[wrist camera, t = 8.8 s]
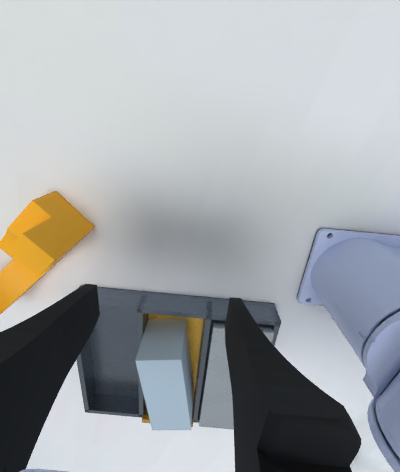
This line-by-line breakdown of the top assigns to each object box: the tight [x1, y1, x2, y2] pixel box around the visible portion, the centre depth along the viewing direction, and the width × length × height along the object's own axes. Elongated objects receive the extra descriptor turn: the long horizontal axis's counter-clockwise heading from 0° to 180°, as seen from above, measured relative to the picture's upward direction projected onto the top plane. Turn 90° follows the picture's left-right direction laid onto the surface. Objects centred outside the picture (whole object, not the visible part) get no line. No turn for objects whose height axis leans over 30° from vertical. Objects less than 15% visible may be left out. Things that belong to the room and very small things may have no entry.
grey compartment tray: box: [77, 286, 281, 429], centre depth 27 cm, size 20×16×3 cm
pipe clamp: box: [0, 191, 95, 314], centre depth 20 cm, size 12×4×6 cm, turn 131°
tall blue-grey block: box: [135, 318, 194, 430], centre depth 25 cm, size 4×10×5 cm, turn 4°
